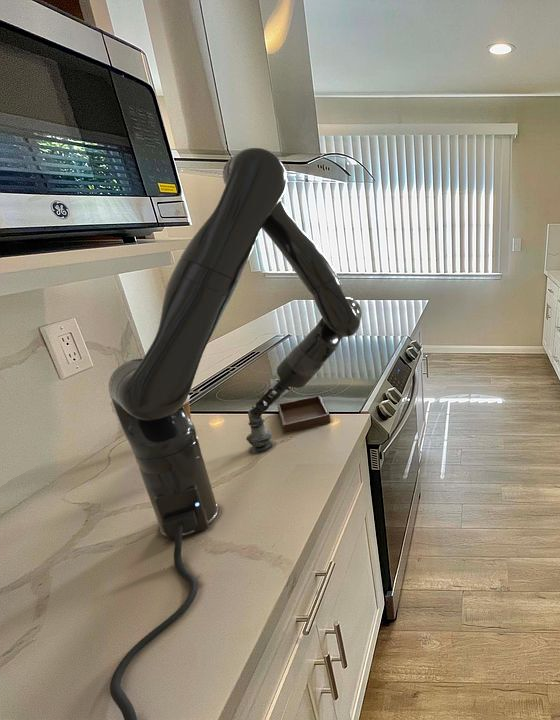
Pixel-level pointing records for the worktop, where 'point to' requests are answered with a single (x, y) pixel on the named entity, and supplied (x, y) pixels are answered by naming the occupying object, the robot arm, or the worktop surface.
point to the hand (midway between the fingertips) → (263, 407)
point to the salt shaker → (258, 435)
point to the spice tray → (303, 414)
